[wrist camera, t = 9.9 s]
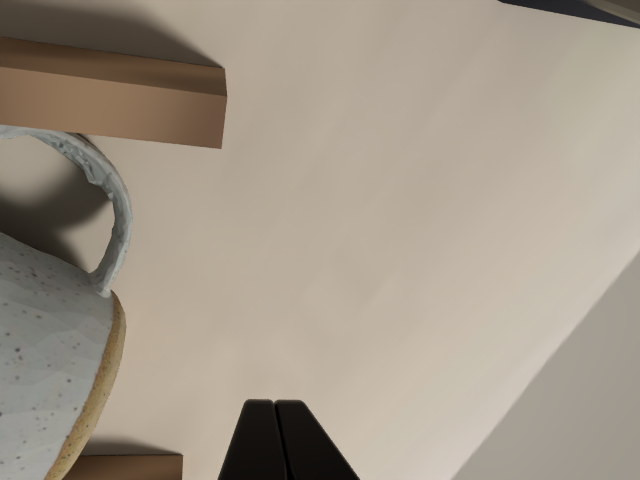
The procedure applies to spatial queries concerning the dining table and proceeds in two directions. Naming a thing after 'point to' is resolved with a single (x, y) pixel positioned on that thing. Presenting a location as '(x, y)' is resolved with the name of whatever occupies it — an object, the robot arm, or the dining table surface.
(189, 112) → the walnut bay
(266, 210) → the dining table surface
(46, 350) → the ceramic mug
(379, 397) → the dining table surface
